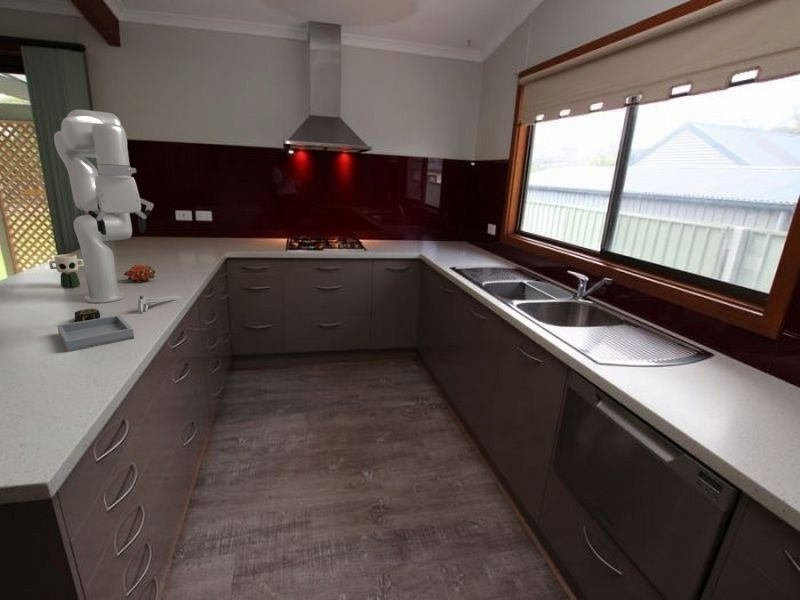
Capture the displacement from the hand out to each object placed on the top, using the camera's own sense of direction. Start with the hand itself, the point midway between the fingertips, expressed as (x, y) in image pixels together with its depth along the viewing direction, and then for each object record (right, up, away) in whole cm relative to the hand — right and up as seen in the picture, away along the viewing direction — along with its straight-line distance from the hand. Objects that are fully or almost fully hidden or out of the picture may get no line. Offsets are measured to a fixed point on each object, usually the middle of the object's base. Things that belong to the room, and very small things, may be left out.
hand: (123, 233), depth 121 cm
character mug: (-56, -14, +51) cm, 77 cm away
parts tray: (-11, -30, +5) cm, 33 cm away
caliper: (-9, -22, +36) cm, 43 cm away
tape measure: (-23, -27, +16) cm, 39 cm away
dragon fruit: (-34, -11, +64) cm, 73 cm away
